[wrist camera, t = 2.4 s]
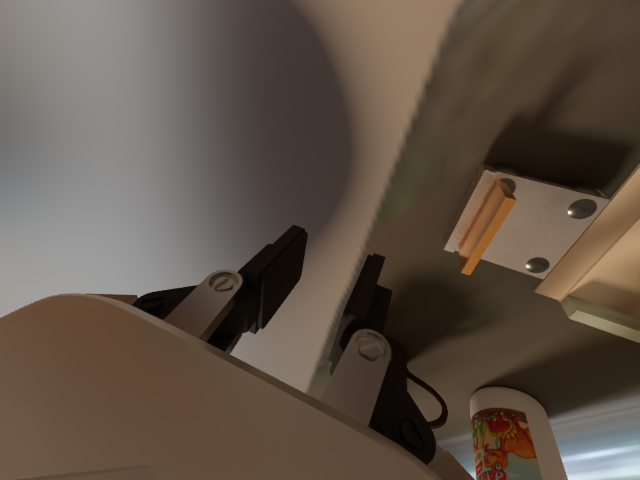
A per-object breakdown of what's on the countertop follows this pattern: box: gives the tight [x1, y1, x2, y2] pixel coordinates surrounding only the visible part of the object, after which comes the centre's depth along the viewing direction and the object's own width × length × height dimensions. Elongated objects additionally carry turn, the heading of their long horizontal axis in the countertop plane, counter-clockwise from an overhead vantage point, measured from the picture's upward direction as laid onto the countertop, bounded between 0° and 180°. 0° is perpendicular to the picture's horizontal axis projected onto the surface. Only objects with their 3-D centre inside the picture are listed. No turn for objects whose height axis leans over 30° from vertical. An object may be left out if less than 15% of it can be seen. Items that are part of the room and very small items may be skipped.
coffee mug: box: [384, 336, 448, 429], centre depth 32 cm, size 12×9×10 cm
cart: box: [444, 163, 610, 279], centre depth 20 cm, size 8×8×7 cm
